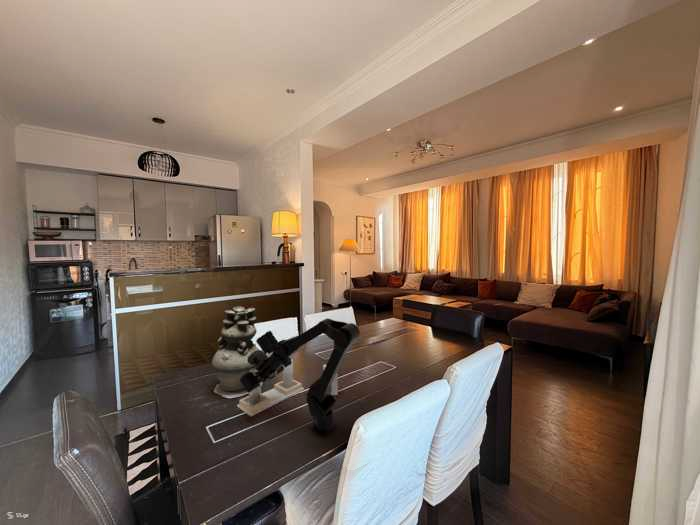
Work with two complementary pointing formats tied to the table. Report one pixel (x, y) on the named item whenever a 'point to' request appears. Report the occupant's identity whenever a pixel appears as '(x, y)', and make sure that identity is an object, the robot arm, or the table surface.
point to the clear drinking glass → (255, 393)
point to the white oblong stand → (273, 393)
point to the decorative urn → (234, 352)
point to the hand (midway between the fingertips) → (252, 385)
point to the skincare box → (334, 384)
